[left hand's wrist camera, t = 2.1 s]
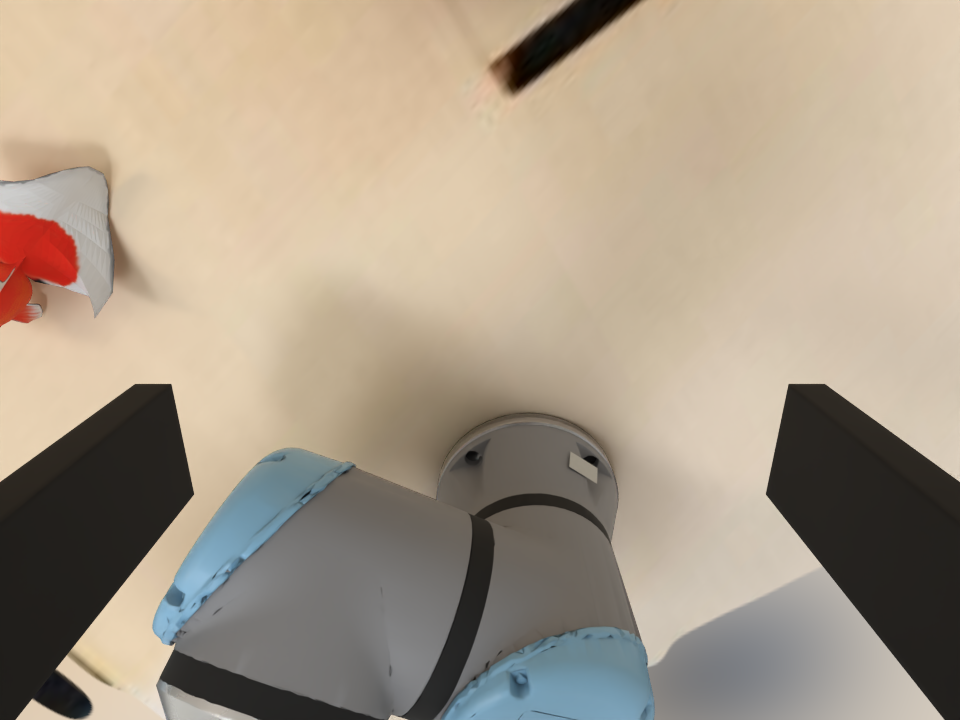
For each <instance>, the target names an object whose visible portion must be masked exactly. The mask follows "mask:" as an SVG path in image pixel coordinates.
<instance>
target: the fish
mask: <svg viewBox="0 0 960 720" xmlns="http://www.w3.org/2000/svg"><path fill="white" fill-rule="evenodd" d="M108 206H109V199H108V187H107V182H106V179H105V176H104V174H103V173H101V172H99V171H97V170H95V169H93V168H91V167H89V166H88V167H77V168H72V169H67V170H63V171H59V172H56V173H52V174H49V175H46V176H43V177H40V178H37V179H34V180H25V181H15V182H12V181H0V327H1V326H2V325H3V324H5V323H7V322H9V321H10V320H14V321H18V322H21V323H29V322H30V321H32V320H35V319H37V318H40V317H41V316H42V313H43V311H42V308H41V306H40V305H39V304H28V302H29V301H30V299H31V296H32V286H31V283H30V281H29V279H28V277H29V278H30V279H32V280H33V281H35V282H40V283H44V284H49V285H54V286H59V287H64V288H66V289H69V290H72V291H74V292H77V293H80V294H84V295H87V296H89V297H90V299H91V302H92V306H93V310H94V318H96V316H97V315H98V313H99V312H100V310H101V309H102V307H103V306H104V304H105V303H106V302H107V300H108V299H109V297H110V296H111V294H112V293H113V277H114V254H113V247H112V240H111V234H110V227H109V221H108Z"/></svg>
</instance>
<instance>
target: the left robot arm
mask: <svg viewBox="0 0 960 720" xmlns="http://www.w3.org/2000/svg"><path fill="white" fill-rule="evenodd" d="M193 495H194V491H193V487H192V482H191V477H190V472H189V467H188V462H187V458H186V453H185V448H184V443H183V438H182V433H181V429H180V424H179V419H178V414H177V409H176V404H175V400H174V395H173V390H172V385H171V384H135V385H133V386H132V387H131V388H129V389H128V390H126V391H125V392H124V393H122V394H121V395H120V396H118V397H117V398H115V399H114V400H113V401H111V402H110V403H108V404H107V405H106V406H104V407H103V408H102V409H100V410H99V411H97V412H96V413H95V414H93V415H92V416H91V417H89V418H88V419H86V420H85V421H84V422H82V423H81V424H80V425H78V426H77V427H75V428H74V429H73V430H71V431H70V432H69V433H67V434H66V435H64V436H63V437H62V438H60V439H59V440H58V441H56V442H55V443H53V444H52V445H51V446H49V447H48V448H46V449H45V450H44V451H42V452H41V453H40V454H38V455H37V456H35V457H34V458H33V459H31V460H30V461H29V462H27V463H26V464H24V465H23V466H22V467H20V468H19V469H18V470H16V471H15V472H13V473H12V474H11V475H9V476H8V477H7V478H5V479H4V480H2V481H1V482H0V720H16V718H17V717H18V716H19V715H20V713H21V712H22V711H23V709H24V708H25V707H26V706H27V704H28V703H29V702H30V701H31V699H32V698H33V697H34V696H35V694H36V693H37V692H38V691H39V689H40V688H41V687H42V686H43V684H44V683H45V682H46V680H47V679H48V678H49V677H50V675H51V674H52V673H53V672H54V670H55V669H56V668H57V667H58V665H59V664H60V663H61V662H62V660H63V659H64V658H65V657H66V655H67V654H68V653H69V651H70V650H71V649H72V648H73V646H74V645H75V644H76V643H77V641H78V640H79V639H80V638H81V636H82V635H83V634H84V633H85V631H86V630H87V629H88V628H89V626H90V625H91V624H92V622H93V621H94V620H95V619H96V617H97V616H98V615H99V614H100V612H101V611H102V610H103V609H104V607H105V606H106V605H107V604H108V602H109V601H110V600H111V599H112V597H113V596H114V595H115V593H116V592H117V591H118V590H119V588H120V587H121V586H122V585H123V583H124V582H125V581H126V580H127V578H128V577H129V576H130V575H131V573H132V572H133V571H134V569H135V568H136V567H137V566H138V564H139V563H140V562H141V561H142V559H143V558H144V557H145V556H146V554H147V553H148V552H149V551H150V549H151V548H152V547H153V546H154V544H155V543H156V542H157V540H158V539H159V538H160V537H161V535H162V534H163V533H164V532H165V530H166V529H167V528H168V527H169V525H170V524H171V523H172V522H173V520H174V519H175V518H176V517H177V515H178V514H179V513H180V511H181V510H182V509H183V508H184V506H185V505H186V504H187V503H188V501H189V500H190V499H191V498H192V496H193ZM766 495H767V496H768V498H769V499H770V500H771V501H772V503H773V504H774V505H775V506H776V508H777V509H778V510H779V511H780V513H781V514H782V515H783V517H784V518H785V519H786V520H787V522H788V523H789V524H790V525H791V527H792V528H793V529H794V530H795V532H796V533H797V534H798V535H799V537H800V538H801V539H802V540H803V542H804V543H805V544H806V546H807V547H808V548H809V549H810V551H811V552H812V553H813V554H814V556H815V557H816V558H817V559H818V561H819V562H820V563H821V564H822V566H823V567H824V568H825V569H826V571H827V572H828V573H829V574H830V576H831V577H832V578H833V580H834V581H835V582H836V583H837V585H838V586H839V587H840V588H841V590H842V591H843V592H844V593H845V595H846V596H847V597H848V599H849V600H850V601H851V602H852V604H853V605H854V606H855V607H856V609H857V610H858V611H859V612H860V614H861V615H862V616H863V617H864V619H865V620H866V621H867V622H868V624H869V625H870V626H871V627H872V629H873V630H874V631H875V633H876V634H877V635H878V636H879V638H880V639H881V640H882V641H883V643H884V644H885V645H886V646H887V648H888V649H889V650H890V651H891V653H892V654H893V655H894V657H895V658H896V659H897V660H898V662H899V663H900V664H901V665H902V667H903V668H904V669H905V670H906V672H907V673H908V674H909V675H910V677H911V678H912V679H913V680H914V682H915V683H916V684H917V686H918V687H919V688H920V689H921V691H922V692H923V693H924V694H925V696H926V697H927V698H928V699H929V701H930V702H931V703H932V704H933V706H934V707H935V708H936V709H937V711H938V712H939V713H940V715H941V716H942V717H943V718H944V720H960V482H959V481H958V480H956V479H955V478H953V477H952V476H951V475H949V474H948V473H947V472H945V471H944V470H942V469H941V468H940V467H938V466H937V465H936V464H934V463H933V462H931V461H930V460H929V459H927V458H926V457H925V456H923V455H922V454H920V453H919V452H918V451H916V450H915V449H914V448H912V447H911V446H909V445H908V444H907V443H905V442H904V441H902V440H901V439H900V438H898V437H897V436H896V435H894V434H893V433H891V432H890V431H889V430H887V429H886V428H885V427H883V426H882V425H880V424H879V423H878V422H876V421H875V420H874V419H872V418H871V417H869V416H868V415H867V414H865V413H864V412H863V411H861V410H860V409H858V408H857V407H856V406H854V405H853V404H852V403H850V402H849V401H847V400H846V399H845V398H843V397H842V396H840V395H839V394H838V393H836V392H835V391H834V390H832V389H831V388H829V387H828V386H827V385H825V384H789V385H788V390H787V395H786V400H785V404H784V409H783V414H782V419H781V424H780V429H779V433H778V438H777V443H776V448H775V453H774V458H773V462H772V467H771V472H770V477H769V482H768V487H767V491H766ZM617 508H618V488H617V483H616V479H615V476H614V473H613V470H612V467H611V465H610V462H609V460H608V458H607V456H606V454H605V452H604V451H603V449H602V448H601V446H600V445H599V444H598V443H597V442H596V441H595V439H593V438H592V437H591V436H590V435H589V434H588V433H587V432H585V431H584V430H583V429H581V428H579V427H578V426H576V425H574V424H572V423H570V422H568V421H566V420H563V419H560V418H557V417H553V416H549V415H543V414H533V413H522V414H513V415H507V416H503V417H499V418H496V419H493V420H490V421H488V422H485V423H483V424H481V425H479V426H478V427H476V428H474V429H473V430H471V431H470V432H468V433H467V434H466V435H465V436H463V437H462V438H461V439H460V440H459V441H458V442H457V443H456V444H455V446H454V447H453V448H452V449H451V451H450V452H449V454H448V455H447V457H446V459H445V461H444V463H443V466H442V468H441V472H440V476H439V481H438V488H437V499H436V500H435V499H433V498H430V497H428V496H425V495H423V494H420V493H418V492H415V491H413V490H410V489H408V488H405V487H402V486H400V485H397V484H395V483H392V482H390V481H387V480H385V479H382V478H380V477H377V476H375V475H372V474H370V473H367V472H365V471H362V470H360V469H357V468H356V465H355V464H353V463H351V462H344V463H342V462H339V461H336V460H333V459H330V458H327V457H324V456H321V455H318V454H315V453H312V452H309V451H306V450H303V449H299V448H284V449H280V450H277V451H275V452H273V453H271V454H269V455H268V456H266V457H264V458H263V459H262V460H261V461H260V462H259V463H257V464H256V465H255V466H254V467H253V468H252V469H251V470H250V471H249V472H248V473H247V475H246V476H245V477H244V478H243V479H242V480H241V481H240V483H239V484H238V485H237V486H236V487H235V489H234V490H233V491H232V492H231V494H230V495H229V496H228V498H227V499H226V500H225V501H224V503H223V504H222V505H221V507H220V508H219V509H218V511H217V512H216V514H215V515H214V516H213V518H212V519H211V521H210V522H209V523H208V525H207V526H206V528H205V529H204V531H203V532H202V534H201V535H200V537H199V538H198V540H197V541H196V543H195V544H194V546H193V547H192V549H191V550H190V552H189V553H188V555H187V557H186V558H185V560H184V561H183V563H182V565H181V567H180V568H179V570H178V572H177V573H176V575H175V578H174V582H173V583H172V585H171V587H170V588H169V590H168V592H167V594H166V595H165V597H164V598H163V600H162V601H161V603H160V605H159V607H158V609H157V611H156V614H155V617H154V620H153V631H154V633H155V634H156V635H157V636H158V637H159V638H160V639H161V641H162V643H163V644H166V645H171V646H172V645H173V644H174V643H176V644H175V647H174V650H173V652H172V654H171V656H170V658H169V660H168V662H167V664H166V666H165V668H164V670H163V672H162V674H161V676H160V678H159V680H158V682H157V685H156V686H157V690H158V693H159V696H160V700H161V703H162V706H163V709H164V713H165V716H166V719H167V720H388V719H389V717H390V715H395V716H398V717H402V718H405V719H408V720H654V713H655V709H654V708H655V707H654V698H653V692H652V688H651V683H650V679H649V674H648V670H647V663H648V659H647V654H646V650H645V647H644V645H643V643H642V640H641V637H640V634H639V631H638V628H637V624H636V621H635V618H634V615H633V612H632V609H631V606H630V602H629V599H628V596H627V593H626V590H625V587H624V583H623V580H622V577H621V574H620V571H619V568H618V565H617V561H616V558H615V555H614V552H613V549H612V546H611V540H612V534H613V529H614V523H615V518H616V513H617Z"/></svg>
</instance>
